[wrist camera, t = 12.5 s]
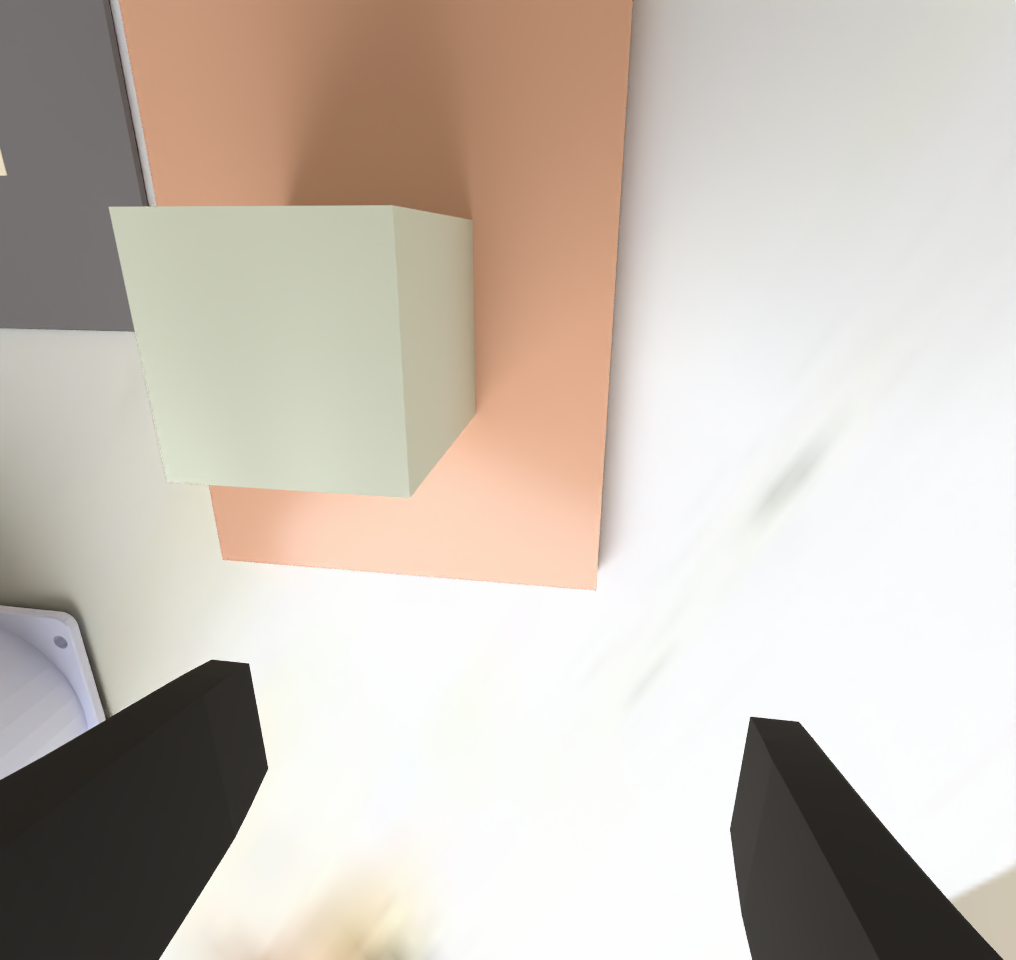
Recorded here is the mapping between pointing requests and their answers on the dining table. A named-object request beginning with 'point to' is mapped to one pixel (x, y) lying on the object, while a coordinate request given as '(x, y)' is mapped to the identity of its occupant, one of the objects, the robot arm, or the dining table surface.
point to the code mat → (63, 166)
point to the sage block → (302, 342)
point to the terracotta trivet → (438, 189)
